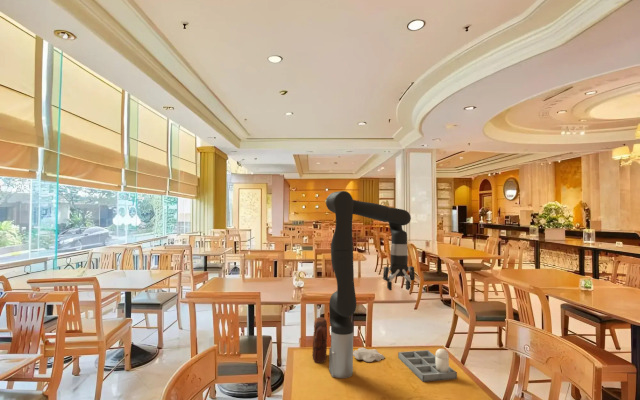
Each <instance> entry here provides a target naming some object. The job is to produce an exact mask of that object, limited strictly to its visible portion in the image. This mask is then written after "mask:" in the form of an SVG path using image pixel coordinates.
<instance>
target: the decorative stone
mask: <svg viewBox="0 0 640 400" xmlns="http://www.w3.org/2000/svg"><path fill="white" fill-rule="evenodd" d="M353 358H355V359H356V360H361V361H363V362H366V363H371V362H376V361H377V362H380V361H382V360H384V358H386V357H385V355H384V354H381V353H380V352H379V351H378V350H377V349H376V348H374V349H371V348H370V349H367V348H365V347H363V346H362V347H358V348H357V349H355V350H354V349H353ZM381 359H382V360H381Z"/></svg>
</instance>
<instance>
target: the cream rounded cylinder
mask: <svg viewBox="0 0 640 400" xmlns="http://www.w3.org/2000/svg"><path fill="white" fill-rule="evenodd" d="M434 355H435V365H436V370H437V371H438V372H439V373H446V372H449V367H450V361H449V359H450V358H449V357H450V356H449V353H448V351H447V350H446V349H444V348H438V349H436V351H435V353H434Z"/></svg>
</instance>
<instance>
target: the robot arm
mask: <svg viewBox="0 0 640 400" xmlns="http://www.w3.org/2000/svg"><path fill="white" fill-rule="evenodd" d="M325 205H326V208H327V210H328V211H330V212H331V213H333V214H335V229H334V231H333V232H334V233H333V236H332V239H331V242H330V257H331V258H330V259H331V266H332V269H333V272H334V275H335V280H336V285H337V287H336V289H337V290H336V291H334V292H333V293H332V294H331V296H330V299H329V305H328V306H329V324H330V331H331V332H330V347H329V349H328V350H329V353H328V354H329V356H328V357H329V360H328V361H329V362H328V363H329V364H328V372H329V374H330V375H331V377H332V378H337V379H348V378H351V377H352V376H353V373H354V372H353V371H354V367H353V365H354V356H353V351H354V324H353V322H352V320H351V319H352V318H351V317H352V316H353V315H354V313H355V312H356V309H357V297H356V290H355V276H354V274H355V273H354V245H353V238H354V237H353V219H354V218H353V215H356V216H361V217H363V218H368V219H371V220H375V221H379V222H385V223H386V222H387V223H388V226H389V230H390V233H391V244H390V245H391V246H390V266H384V267H383V275H382V279H383V280H384V281H386V284H387V285H386V287H387V289H388V291H393V289H392V286H393V283H392V281H393V280H394V279H395V278H397V277H403V278H404V279H405V280H406V281H405V290H406V291H409V290H410V289H411V282H412V281H414V280H415V267H414V266H412V265H410V266H408V261H409V260H408V259H409V257H408V254H409V253H408V252H409V251H408V233H407V231H405V230H403V226H407V225H408V224H409V223H410V222H411V219H412V217H411V216H412V215H411V214H410V212H409V211H407V210H405V209H402V208H396V207H390V206H386V205H382V204H379V203H375V202H368V201H361V200H357V199H354V198H353V196H352V194H351V193H349V192H348V191H346V190H340V191H333V192H331V193H330V194H328V196H327V198H326V200H325ZM389 272H390V273H389ZM407 272H409V274H408V273H407Z"/></svg>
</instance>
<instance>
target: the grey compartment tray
mask: <svg viewBox="0 0 640 400" xmlns="http://www.w3.org/2000/svg"><path fill="white" fill-rule="evenodd" d="M397 356H398V359H399V360H400V361H401V362H402V363H403V364H404V366H406V367H407V368H408V369H409V370H410V371H411V372H412V373H413V374H414V375H415V376H416V377H418V379H419V380H420V381H421V382H422V383H426V382H428V383H429V382H436V381H438V382H439V381H448V380H449V381H450V380H457V379H458V372H457V371H456V370H455V369H454V368H452V367H451V366H449V372H446V373H439V372H438V371H437V370H436V365H435V353H432V352H431V351H430V350H428V349H426V350H424V349H423V350H410V351H398V355H397Z"/></svg>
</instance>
